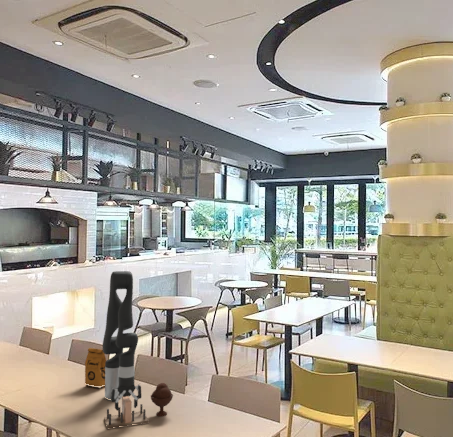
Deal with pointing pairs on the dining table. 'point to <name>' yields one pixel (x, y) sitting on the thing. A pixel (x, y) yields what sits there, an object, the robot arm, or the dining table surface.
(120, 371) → the robot arm
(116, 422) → the dish rack
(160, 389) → the ice cream bowl
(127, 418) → the peach chamfered block
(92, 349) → the coffee package
